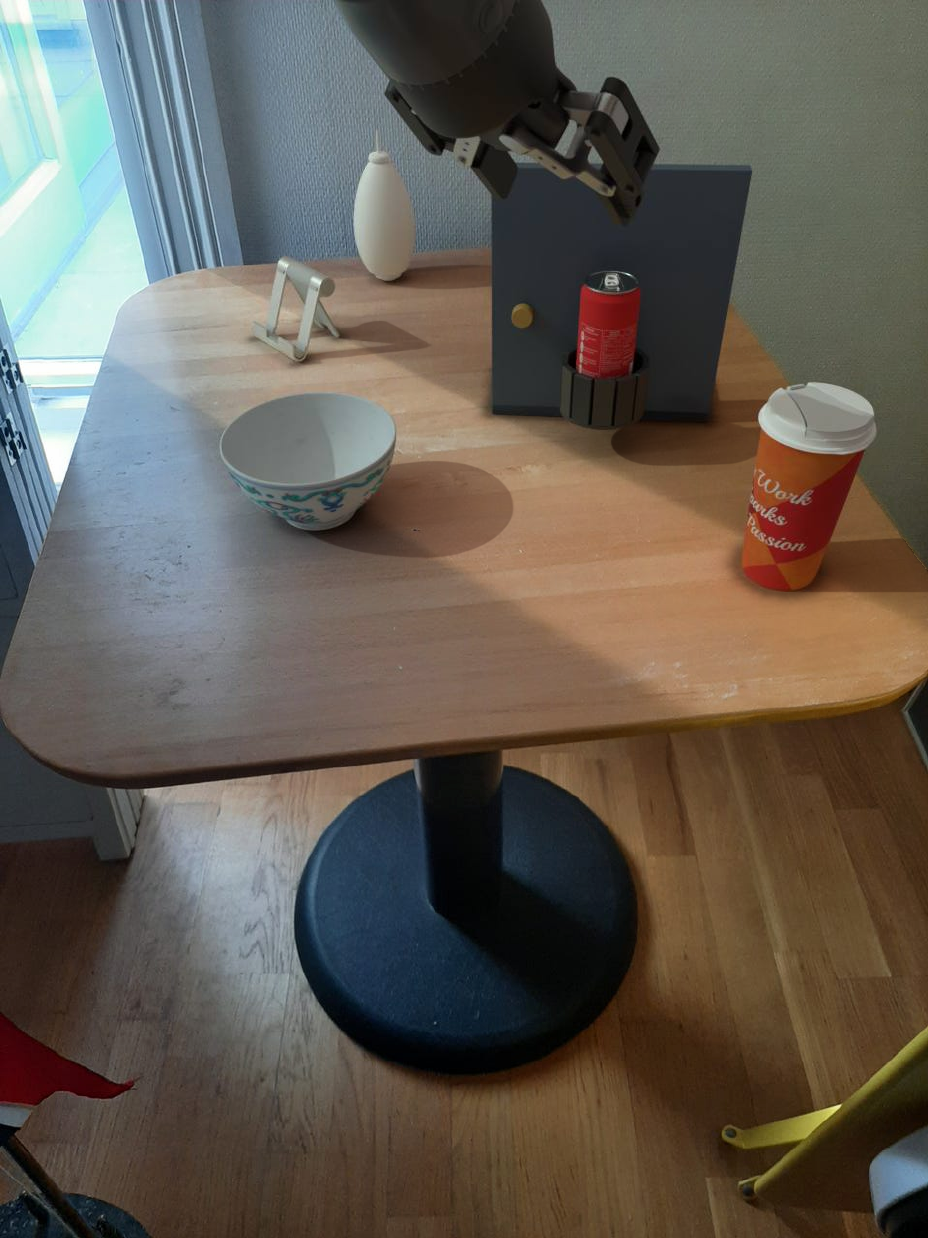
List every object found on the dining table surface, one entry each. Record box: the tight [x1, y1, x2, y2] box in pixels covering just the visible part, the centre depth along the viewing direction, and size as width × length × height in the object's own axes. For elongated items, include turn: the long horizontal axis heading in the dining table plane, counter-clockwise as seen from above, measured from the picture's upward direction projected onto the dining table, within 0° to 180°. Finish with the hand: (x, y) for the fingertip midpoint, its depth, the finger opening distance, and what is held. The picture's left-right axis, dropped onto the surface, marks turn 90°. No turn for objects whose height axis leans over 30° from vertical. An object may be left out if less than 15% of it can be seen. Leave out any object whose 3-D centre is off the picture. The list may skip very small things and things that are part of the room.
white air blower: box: [353, 129, 416, 282], centre depth 116 cm, size 8×8×18 cm
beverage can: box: [576, 271, 641, 414], centre depth 84 cm, size 5×5×12 cm
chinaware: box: [219, 391, 397, 531], centre depth 81 cm, size 15×15×8 cm
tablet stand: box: [251, 255, 340, 363], centre depth 106 cm, size 9×8×8 cm
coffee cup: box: [741, 381, 878, 592], centre depth 71 cm, size 8×8×15 cm
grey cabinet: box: [490, 161, 753, 431], centre depth 87 cm, size 22×18×24 cm
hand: (565, 197), depth 55 cm, fingers open, 8 cm apart
